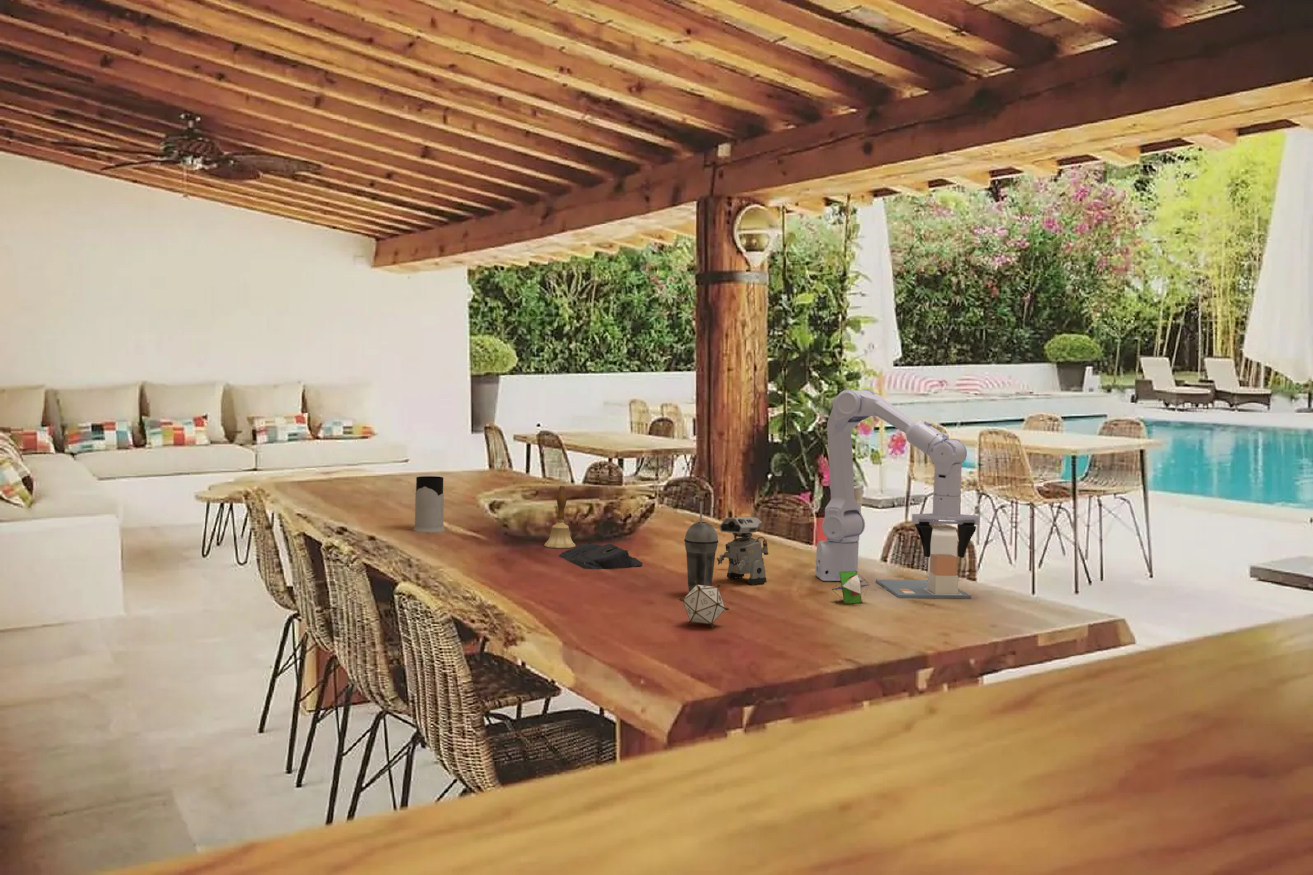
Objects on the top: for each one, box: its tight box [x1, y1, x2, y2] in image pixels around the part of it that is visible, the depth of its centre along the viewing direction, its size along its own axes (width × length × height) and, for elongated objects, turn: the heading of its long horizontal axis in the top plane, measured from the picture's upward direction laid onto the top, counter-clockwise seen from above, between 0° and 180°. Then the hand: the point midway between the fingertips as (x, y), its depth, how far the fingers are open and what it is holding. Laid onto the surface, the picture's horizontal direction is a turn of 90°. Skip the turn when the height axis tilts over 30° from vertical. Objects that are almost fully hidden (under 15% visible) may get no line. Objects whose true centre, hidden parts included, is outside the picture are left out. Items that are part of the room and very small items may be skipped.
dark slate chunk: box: [558, 542, 643, 570], centre depth 288 cm, size 15×22×5 cm
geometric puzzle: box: [831, 570, 871, 605], centre depth 246 cm, size 7×7×8 cm
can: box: [927, 525, 959, 575], centre depth 278 cm, size 6×6×12 cm
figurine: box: [716, 515, 769, 586], centre depth 265 cm, size 9×12×15 cm
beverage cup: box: [684, 501, 719, 593], centre depth 249 cm, size 7×7×20 cm
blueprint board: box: [875, 579, 972, 600], centre depth 262 cm, size 16×18×1 cm
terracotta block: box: [930, 554, 958, 576], centre depth 257 cm, size 4×4×4 cm
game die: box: [678, 581, 731, 629], centre depth 220 cm, size 9×8×10 cm
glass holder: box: [413, 475, 446, 534], centre depth 334 cm, size 9×14×15 cm, turn 171°
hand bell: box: [543, 485, 577, 549], centre depth 310 cm, size 8×8×16 cm
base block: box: [927, 572, 959, 594], centre depth 257 cm, size 5×5×4 cm
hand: (944, 556), depth 257 cm, fingers open, 7 cm apart
